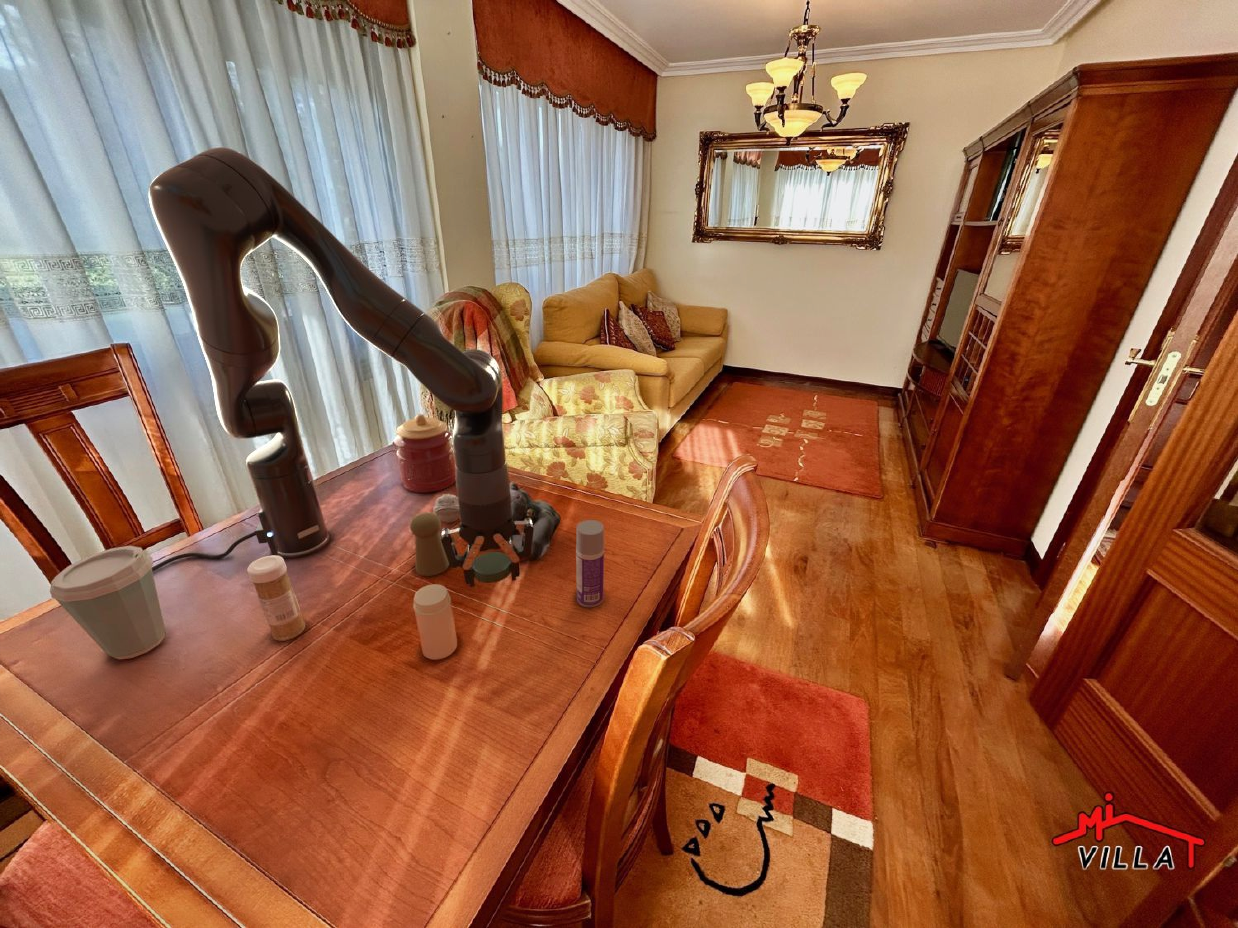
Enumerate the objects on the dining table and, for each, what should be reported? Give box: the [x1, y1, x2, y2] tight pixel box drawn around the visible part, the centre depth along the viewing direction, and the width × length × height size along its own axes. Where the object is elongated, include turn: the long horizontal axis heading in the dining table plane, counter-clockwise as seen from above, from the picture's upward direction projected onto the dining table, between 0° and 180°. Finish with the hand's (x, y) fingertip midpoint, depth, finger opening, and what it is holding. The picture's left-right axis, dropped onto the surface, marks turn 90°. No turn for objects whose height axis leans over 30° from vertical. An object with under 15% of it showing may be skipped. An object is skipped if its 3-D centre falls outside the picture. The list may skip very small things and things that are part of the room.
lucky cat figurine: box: [500, 481, 562, 562], centre depth 100 cm, size 15×12×14 cm
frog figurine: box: [432, 493, 460, 524], centre depth 107 cm, size 6×7×7 cm
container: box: [575, 519, 605, 608], centre depth 85 cm, size 5×5×15 cm
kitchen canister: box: [393, 413, 456, 494], centre depth 120 cm, size 13×13×18 cm
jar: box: [412, 583, 458, 661], centre depth 75 cm, size 5×5×10 cm
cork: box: [409, 511, 450, 577], centre depth 93 cm, size 6×6×11 cm
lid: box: [472, 551, 511, 584], centre depth 79 cm, size 6×6×2 cm
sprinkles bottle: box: [247, 554, 306, 642], centre depth 76 cm, size 5×5×14 cm
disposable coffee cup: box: [49, 545, 166, 660], centre depth 73 cm, size 11×11×15 cm
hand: (493, 580), depth 81 cm, fingers closed on lid, 6 cm apart
